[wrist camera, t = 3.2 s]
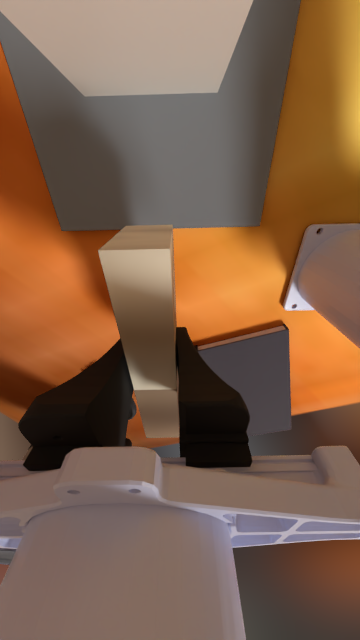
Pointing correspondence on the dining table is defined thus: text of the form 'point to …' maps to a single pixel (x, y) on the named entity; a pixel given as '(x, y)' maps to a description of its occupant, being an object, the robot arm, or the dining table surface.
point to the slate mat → (160, 136)
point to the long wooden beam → (146, 319)
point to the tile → (134, 42)
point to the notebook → (256, 375)
